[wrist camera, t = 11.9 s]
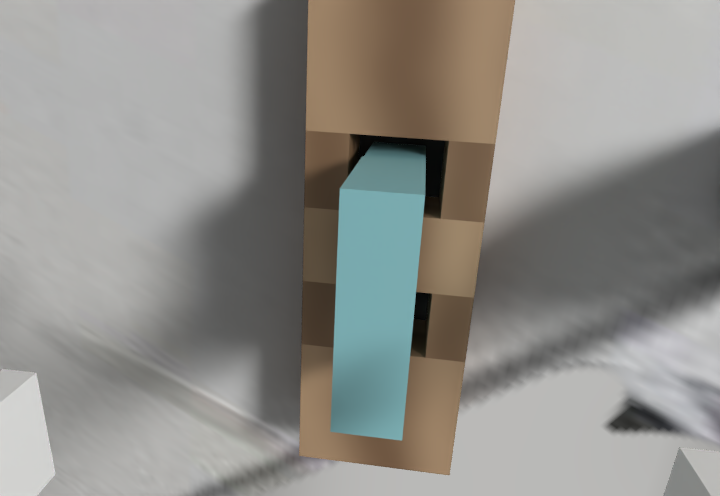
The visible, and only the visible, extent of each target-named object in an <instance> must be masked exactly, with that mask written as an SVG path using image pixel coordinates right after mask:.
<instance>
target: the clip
mask: <svg viewBox="0 0 720 496" xmlns="http://www.w3.org/2000/svg"><path fill="white" fill-rule="evenodd" d="M425 180H426V145H414V144H400V143H385V142H373V144H372V145H371V147H370V148H369V150H368V151H367V152H366V154H365V155H364V156H362V157H361V159H360V160H359V162H358V163H357V165H356V166H355V167H354V169H353V170H352V172H351V173H350V175H349V176H348V177H347V179H346V180H345V182H344V183H343V185H342V186H341V187H340V196H339V221H338V247H337V273H336V299H335V325H334V351H333V376H332V402H331V428H330V432H336V433H344V434H352V435H360V436H368V437H377V438H385V439H393V440H401V441H402V437H403V426H404V415H405V405H406V394H407V383H408V373H409V362H410V352H411V341H412V330H413V320H414V309H415V298H416V288H417V277H418V266H419V256H420V245H421V235H422V224H423V213H424V203H425Z"/></svg>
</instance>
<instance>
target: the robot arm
mask: <svg viewBox="0 0 720 496" xmlns="http://www.w3.org/2000/svg"><path fill="white" fill-rule="evenodd" d="M54 475H55V469H54V464H53V458H52V453H51V448H50V442H49V437H48V432H47V427H46V421H45V416H44V411H43V406H42V400H41V395H40V390H39V384H38V379H37V374H36V373H34V372H26V371H17V370H9V369H2V370H1V371H0V496H37V495H38V494H39V493H40V492H41V490H42V489H43V488H44V487H45V486H46V485H47V484H48V482H49V481H50V480H51V479H52V478H53V477H54ZM664 496H720V452H718V451H709V450H700V449H692V448H683V447H679V450H678V453H677V456H676V459H675V462H674V465H673V468H672V471H671V475H670V478H669V481H668V484H667V487H666V490H665V493H664Z"/></svg>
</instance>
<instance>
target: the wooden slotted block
mask: <svg viewBox="0 0 720 496" xmlns="http://www.w3.org/2000/svg"><path fill="white" fill-rule="evenodd" d="M514 5H515V0H308V40H307V90H306V141H305V192H304V243H303V293H302V344H301V395H300V446H299V456H306V457H313V458H321V459H329V460H336V461H344V462H352V463H359V464H367V465H375V466H383V467H390V468H397V469H405V470H413V471H420V472H428V473H436V474H444V475H450V467H451V460H452V453H453V446H454V438H455V431H456V424H457V417H458V410H459V402H460V395H461V388H462V381H463V373H464V366H465V359H466V352H467V344H468V337H469V330H470V323H471V316H472V308H473V301H474V294H475V287H476V279H477V272H478V265H479V258H480V250H481V243H482V236H483V229H484V222H485V214H486V207H487V200H488V193H489V185H490V178H491V171H492V164H493V157H494V149H495V142H496V135H497V128H498V120H499V113H500V106H501V99H502V91H503V84H504V77H505V70H506V63H507V55H508V48H509V41H510V34H511V26H512V19H513V12H514ZM360 134H361V135H375V136H389V137H403V138H417V139H431V140H445V144H444V153H443V162H442V172H441V181H440V190H439V197H429V196H425V203H424V213H423V224H422V235H421V245H420V256H419V266H418V277H417V288H416V292H421V293H429V294H428V303H427V312H426V320H418V319H414V320H413V330H412V341H411V352H410V362H409V373H408V383H407V394H406V405H405V415H404V426H403V437H402V441H401V440H393V439H385V438H377V437H368V436H360V435H352V434H344V433H336V432H330V428H331V402H332V376H333V351H334V325H335V299H336V273H337V247H338V221H339V196H340V187H341V186H342V185H343V183H344V182H345V180H346V179H347V177H348V176H349V175H350V173H351V172H352V170H353V169H354V167H355V166H356V165H357V163H358V162H359V146H360Z"/></svg>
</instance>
